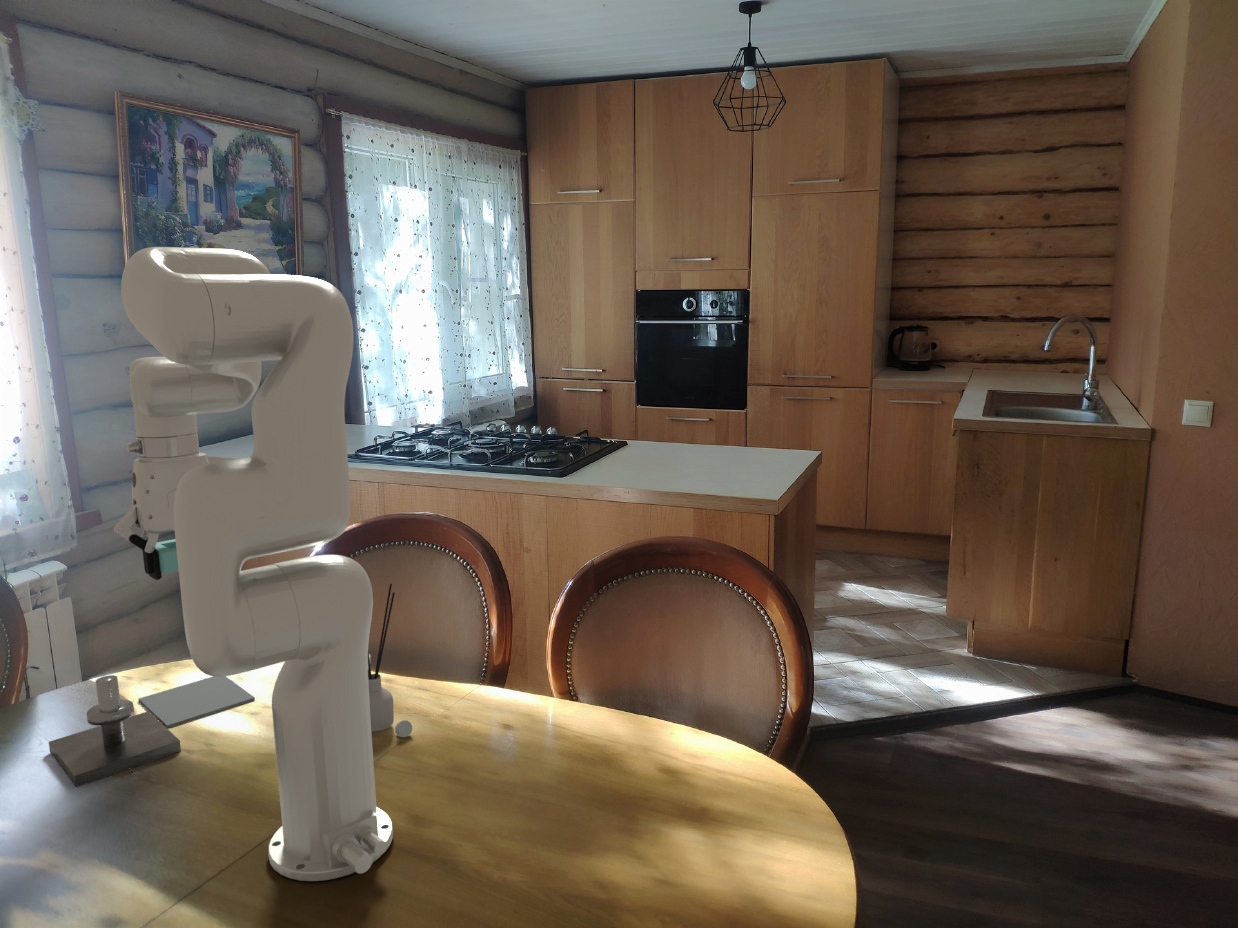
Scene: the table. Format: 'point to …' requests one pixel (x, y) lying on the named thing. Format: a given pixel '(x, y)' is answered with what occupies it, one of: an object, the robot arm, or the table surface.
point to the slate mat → (195, 700)
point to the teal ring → (167, 556)
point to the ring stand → (112, 739)
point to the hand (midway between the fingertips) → (181, 570)
